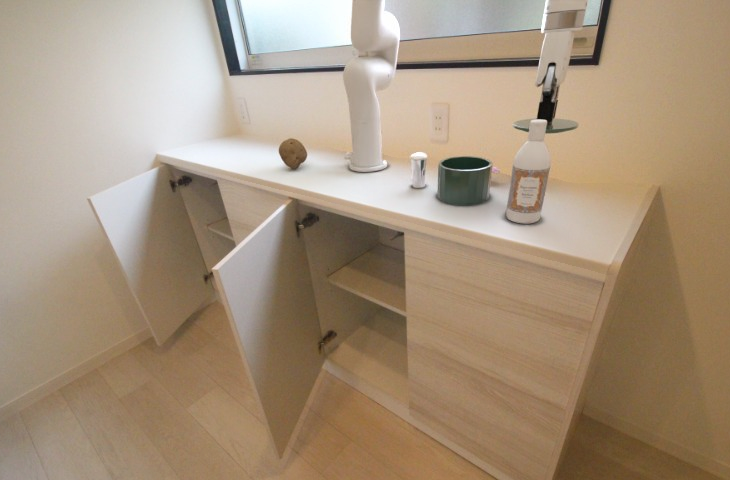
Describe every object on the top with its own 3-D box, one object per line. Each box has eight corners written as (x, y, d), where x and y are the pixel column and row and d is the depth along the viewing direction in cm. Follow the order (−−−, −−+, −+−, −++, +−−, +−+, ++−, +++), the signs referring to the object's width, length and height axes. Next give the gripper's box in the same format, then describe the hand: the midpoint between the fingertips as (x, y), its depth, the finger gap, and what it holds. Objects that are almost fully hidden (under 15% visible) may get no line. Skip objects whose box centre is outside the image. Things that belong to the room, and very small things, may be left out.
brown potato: (302, 163, 129) (298, 134, 124) (313, 168, 123) (309, 138, 117) (278, 168, 125) (272, 139, 120) (288, 174, 119) (283, 143, 113)
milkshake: (406, 184, 103) (406, 148, 98) (425, 183, 103) (426, 147, 97) (407, 189, 99) (407, 152, 94) (427, 188, 99) (428, 151, 94)
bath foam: (504, 222, 77) (518, 124, 67) (506, 210, 83) (519, 117, 72) (539, 226, 75) (560, 124, 65) (539, 213, 80) (558, 117, 70)
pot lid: (506, 133, 82) (510, 101, 78) (519, 122, 92) (523, 93, 88) (573, 136, 76) (581, 101, 72) (580, 124, 85) (587, 93, 82)
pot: (429, 201, 91) (430, 167, 86) (447, 185, 100) (449, 154, 95) (480, 208, 85) (483, 172, 80) (494, 191, 94) (498, 158, 89)
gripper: (548, 25, 81) (534, 113, 90) (535, 25, 69) (520, 126, 79) (586, 22, 77) (567, 114, 87) (579, 21, 66) (558, 127, 75)
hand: (545, 119), depth 83 cm, fingers closed on pot lid, 3 cm apart
